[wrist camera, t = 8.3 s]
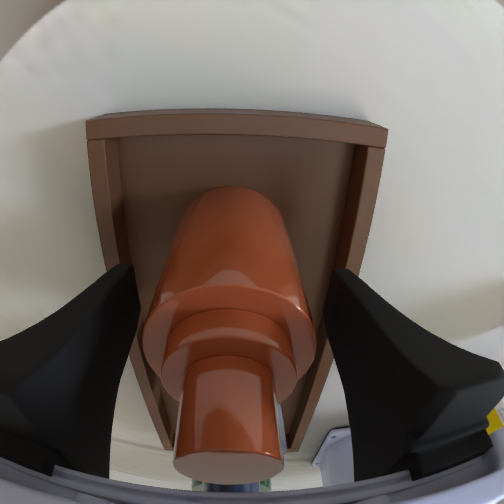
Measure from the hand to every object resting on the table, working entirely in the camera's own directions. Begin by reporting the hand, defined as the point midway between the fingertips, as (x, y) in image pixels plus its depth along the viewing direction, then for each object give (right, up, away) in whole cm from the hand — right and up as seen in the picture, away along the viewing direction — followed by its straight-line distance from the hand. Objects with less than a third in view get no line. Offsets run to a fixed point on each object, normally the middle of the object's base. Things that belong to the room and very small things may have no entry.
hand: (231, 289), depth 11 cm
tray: (-1, -4, +7) cm, 8 cm away
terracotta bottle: (0, +2, +3) cm, 4 cm away
